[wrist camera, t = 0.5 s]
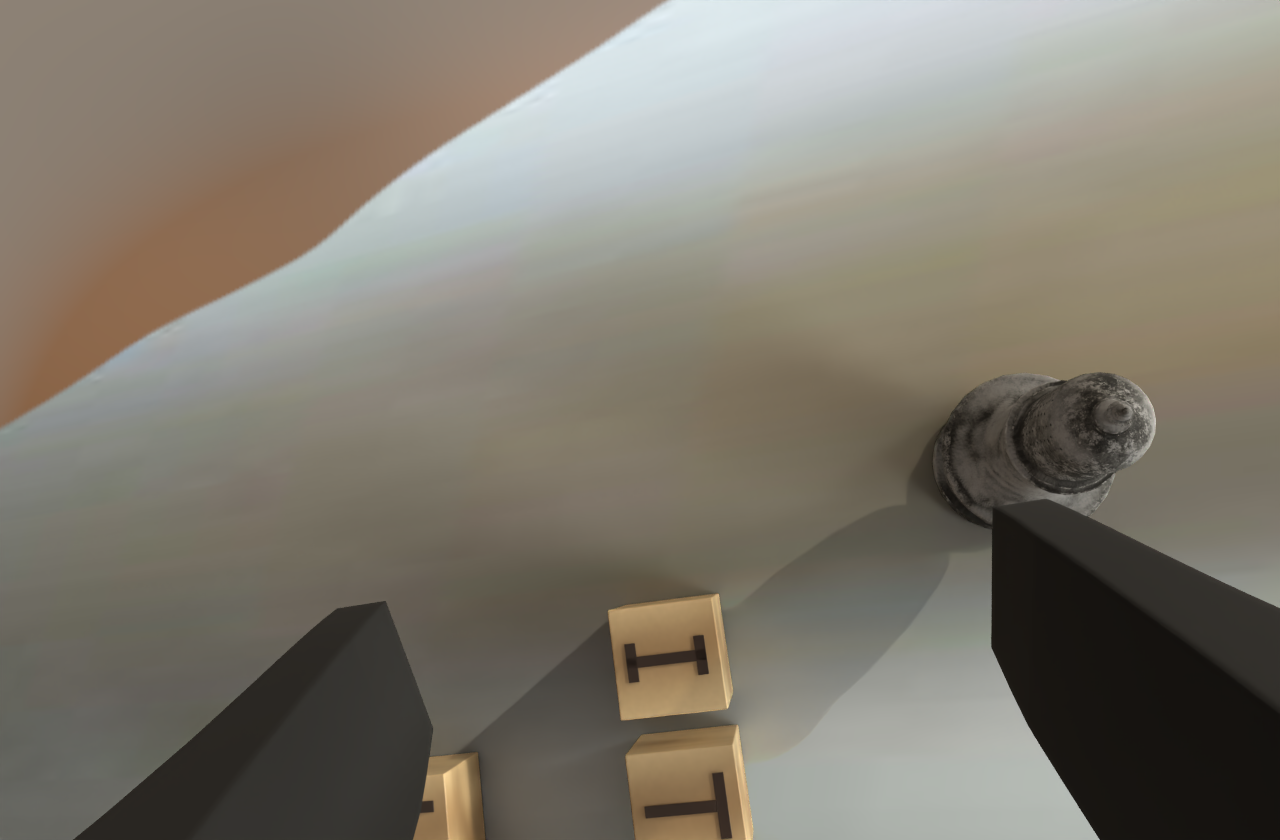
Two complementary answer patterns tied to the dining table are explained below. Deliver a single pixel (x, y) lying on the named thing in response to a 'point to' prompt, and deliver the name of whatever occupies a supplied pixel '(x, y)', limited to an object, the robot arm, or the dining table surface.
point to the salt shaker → (1040, 442)
